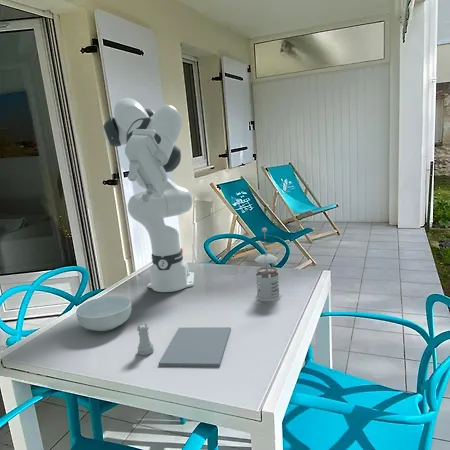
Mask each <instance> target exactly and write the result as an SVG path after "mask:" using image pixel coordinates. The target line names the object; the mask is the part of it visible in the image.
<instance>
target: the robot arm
mask: <svg viewBox="0 0 450 450" xmlns="http://www.w3.org/2000/svg"><path fill="white" fill-rule="evenodd" d="M182 126H183V115H182V113H181V112H180V111H179V110H178V109H177V108H175V107H174V106H173V105H170V104H163V105H162V104H161V106H159V107H158V109H156V111H154V110H153V109H152V108H144V106H143V105H142V104H141V103H140V102H138V101H137V100H135V99H133V98H130V97H124V98H120V99H118V101H117V102H116V104H115V105H114V108H113V117H111V116H110V117H109V119H108V120H107V121H105V122H104V125H103V129H102V130H103V132H102V133H103V137H104V139H105V140H106V142H107V143H108V144H109V145H110V146H111V147H116V148H117V147H121V146H123V145H125V147H124V155H125V156H126V158H127V159H128V162H129V164H128V166H129V168H128V175H127V176H126V177H127V179H128V180H129V181H130V182H136V183H137V184H138V185H139V187H141V188H142V189H144V190H146V191H142V192H139V193H136V194H134V195H131V197H130V198H129V199H128V203H127V211H128V214H129V215H130V216H131V218H132V219H133V220H134V221H136V222H138V223H140V225H142V226H143V228H145V230H146V232H147V233H148V236H149V239H150V246H151V252H152V253H151V262H152V264H151V266H150V267H149V276H150V282H149V283H148V284H147V288H148V289H149V288H150V289H152V290H153V291H155V292H158V293H172V292H178V291H181V290H183V289H186V288H190V287H193V286H194V283H195V272H193V271H190V270H189V263H188V262H187V261H186V260H185V259H184V256H183V255H184V254H183V252H184V249H183V247H181V242H180V233H179V232H178V230H177V229H176V228H174V227H172V226H169V225H166V224H165V220H164V219H165V218H170V217H175V216H176V217H177V216H180V215H183V214H185V213H188V212H190V210H191V208H192V207H193V196H192V193H191V192H190V191H189V190H188V189H187V188H185V187H182V186H180V185H179V184H177V183H175V182H174V181H173V180H172V179H170V177H168V174H167V173H171V172H173V171H174V170H176V169H177V167H178V166H179V165H180V163H181V158H182V153H181V148H179V147H178V146H177V145H176V144H175V142H176V141H177V140H178V137H179V136H180V133H181V129H182Z"/></svg>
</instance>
